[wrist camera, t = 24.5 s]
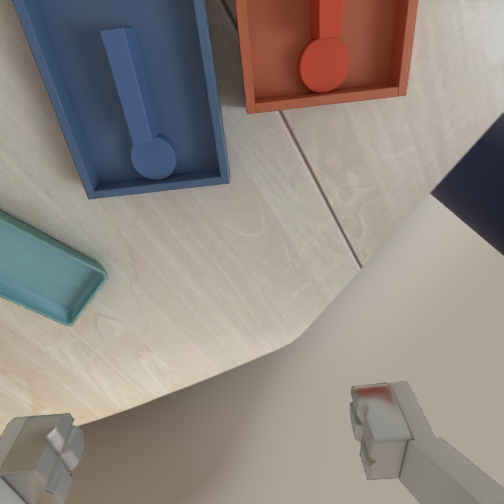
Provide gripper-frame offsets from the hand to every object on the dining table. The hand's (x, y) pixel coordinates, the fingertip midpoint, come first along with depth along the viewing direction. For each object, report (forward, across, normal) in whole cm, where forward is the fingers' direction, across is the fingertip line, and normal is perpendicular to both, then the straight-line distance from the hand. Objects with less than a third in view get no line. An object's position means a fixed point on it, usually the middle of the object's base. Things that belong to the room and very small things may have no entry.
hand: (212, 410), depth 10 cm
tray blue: (+25, +6, -6) cm, 27 cm away
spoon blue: (+25, +6, -4) cm, 26 cm away
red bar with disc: (+25, -8, -10) cm, 28 cm away
